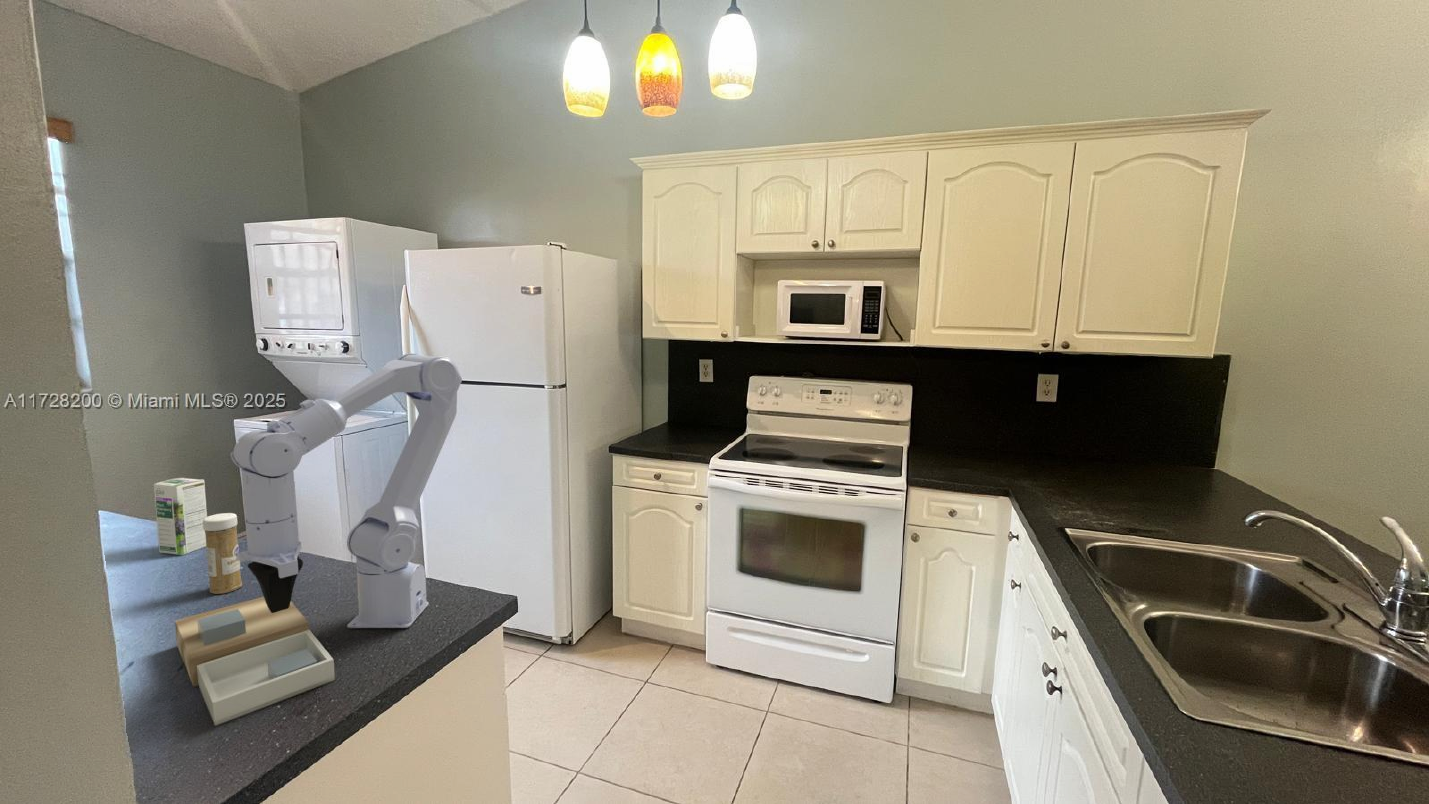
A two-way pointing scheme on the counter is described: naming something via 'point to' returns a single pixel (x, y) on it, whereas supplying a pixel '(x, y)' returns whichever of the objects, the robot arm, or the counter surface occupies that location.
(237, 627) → the slate tile
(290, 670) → the slate tile
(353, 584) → the counter surface
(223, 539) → the sprinkles bottle
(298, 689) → the tray
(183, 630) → the maple bench
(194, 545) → the syrup box
